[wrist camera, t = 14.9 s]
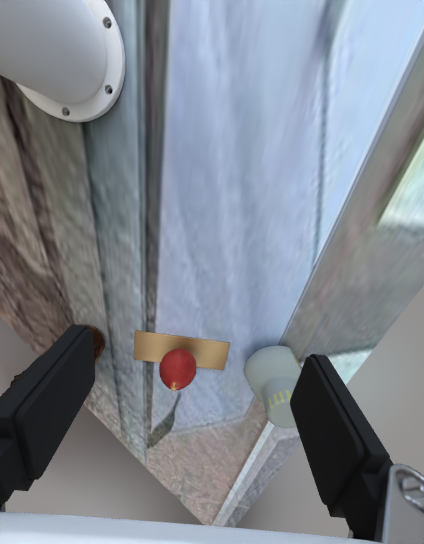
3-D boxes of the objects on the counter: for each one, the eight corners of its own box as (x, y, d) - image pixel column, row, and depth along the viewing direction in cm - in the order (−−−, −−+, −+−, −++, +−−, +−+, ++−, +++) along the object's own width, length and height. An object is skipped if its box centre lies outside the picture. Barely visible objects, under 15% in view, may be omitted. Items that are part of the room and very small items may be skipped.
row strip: (134, 358, 41) (134, 359, 41) (135, 330, 39) (135, 331, 39) (223, 369, 42) (223, 370, 42) (229, 342, 40) (230, 343, 40)
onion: (197, 365, 41) (193, 406, 34) (164, 363, 41) (154, 404, 34) (198, 338, 39) (195, 376, 32) (164, 336, 39) (152, 374, 32)
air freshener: (236, 350, 40) (243, 402, 31) (280, 330, 39) (301, 378, 30) (264, 389, 44) (278, 446, 35) (305, 372, 42) (331, 427, 33)
